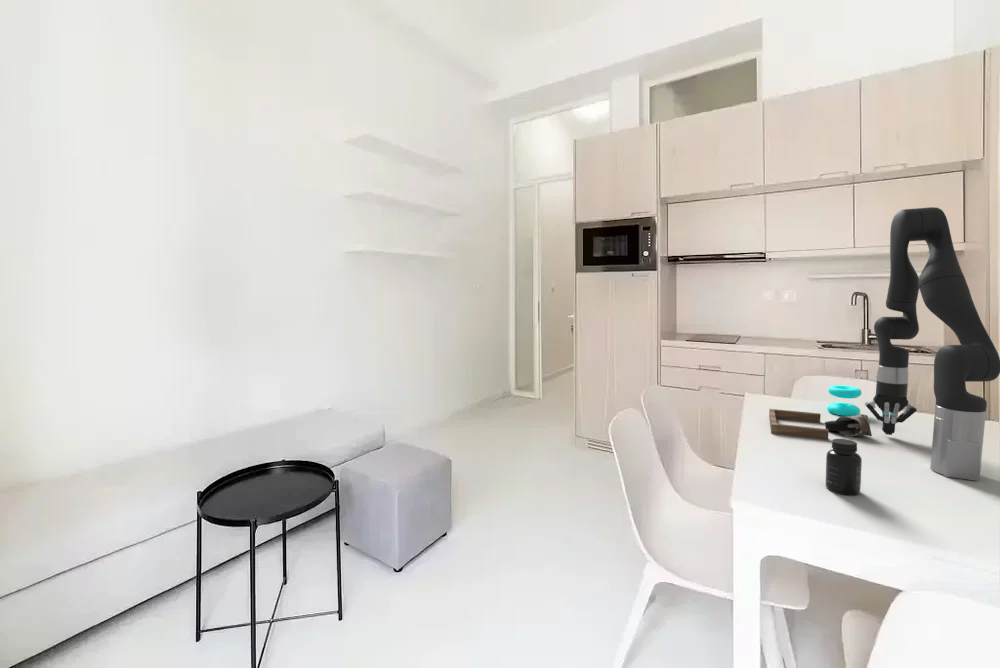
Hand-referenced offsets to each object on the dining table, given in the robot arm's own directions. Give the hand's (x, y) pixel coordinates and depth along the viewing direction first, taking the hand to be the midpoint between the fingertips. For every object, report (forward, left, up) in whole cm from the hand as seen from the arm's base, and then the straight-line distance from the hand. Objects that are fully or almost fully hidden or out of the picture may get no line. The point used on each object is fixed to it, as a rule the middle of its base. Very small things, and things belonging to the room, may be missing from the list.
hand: (888, 434), depth 148 cm
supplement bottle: (-51, +19, -1) cm, 55 cm away
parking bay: (0, +24, -1) cm, 24 cm away
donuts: (+26, +8, -1) cm, 27 cm away
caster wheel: (-1, +11, -1) cm, 11 cm away
